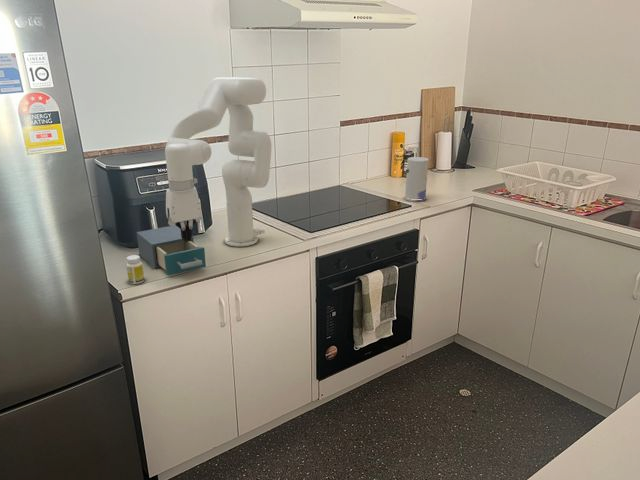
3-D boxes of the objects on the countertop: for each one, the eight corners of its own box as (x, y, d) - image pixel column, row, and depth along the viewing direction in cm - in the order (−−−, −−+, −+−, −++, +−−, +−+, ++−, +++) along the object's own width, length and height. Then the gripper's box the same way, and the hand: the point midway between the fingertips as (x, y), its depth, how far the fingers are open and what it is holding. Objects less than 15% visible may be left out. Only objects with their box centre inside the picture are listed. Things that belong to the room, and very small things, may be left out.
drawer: (212, 271, 183) (211, 252, 181) (173, 281, 176) (171, 261, 174) (188, 254, 198) (187, 236, 196) (151, 262, 191) (149, 243, 188)
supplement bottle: (145, 278, 180) (142, 254, 177) (142, 284, 176) (138, 259, 173) (131, 278, 180) (127, 254, 177) (127, 284, 176) (123, 260, 173)
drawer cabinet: (195, 259, 196) (193, 236, 192) (154, 268, 188) (151, 244, 185) (178, 247, 208) (176, 224, 204) (139, 255, 200) (136, 232, 196)
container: (404, 196, 277) (407, 156, 270) (424, 197, 276) (428, 156, 268) (404, 201, 268) (407, 160, 260) (425, 202, 267) (429, 161, 259)
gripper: (198, 178, 177) (203, 232, 184) (153, 185, 169) (160, 241, 177) (208, 183, 171) (213, 239, 179) (162, 190, 164) (169, 248, 171)
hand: (187, 240), depth 178 cm, fingers closed
